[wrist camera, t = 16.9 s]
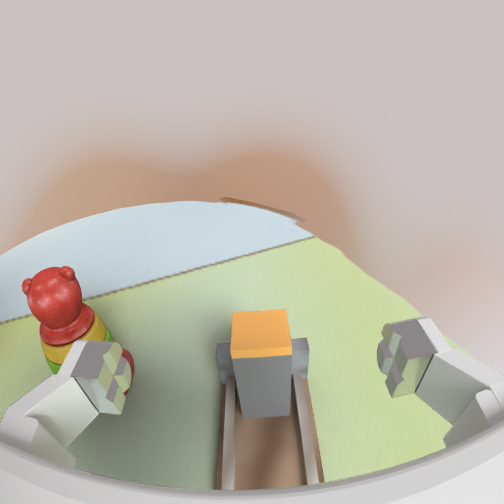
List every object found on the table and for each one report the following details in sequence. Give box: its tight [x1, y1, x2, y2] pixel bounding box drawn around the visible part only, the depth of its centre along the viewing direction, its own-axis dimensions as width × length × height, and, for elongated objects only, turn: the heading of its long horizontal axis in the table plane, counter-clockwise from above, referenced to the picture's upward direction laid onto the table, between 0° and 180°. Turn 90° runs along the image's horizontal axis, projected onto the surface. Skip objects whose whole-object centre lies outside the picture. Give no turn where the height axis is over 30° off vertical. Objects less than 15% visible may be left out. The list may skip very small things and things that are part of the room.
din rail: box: [216, 338, 324, 490], centre depth 26 cm, size 10×18×6 cm, turn 2°
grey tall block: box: [230, 309, 292, 418], centre depth 29 cm, size 5×5×11 cm
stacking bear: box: [22, 266, 134, 395], centre depth 30 cm, size 11×10×18 cm
